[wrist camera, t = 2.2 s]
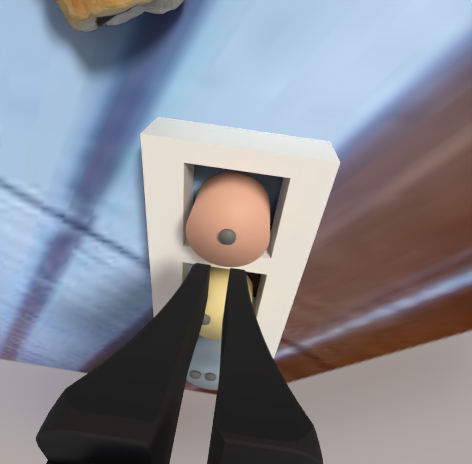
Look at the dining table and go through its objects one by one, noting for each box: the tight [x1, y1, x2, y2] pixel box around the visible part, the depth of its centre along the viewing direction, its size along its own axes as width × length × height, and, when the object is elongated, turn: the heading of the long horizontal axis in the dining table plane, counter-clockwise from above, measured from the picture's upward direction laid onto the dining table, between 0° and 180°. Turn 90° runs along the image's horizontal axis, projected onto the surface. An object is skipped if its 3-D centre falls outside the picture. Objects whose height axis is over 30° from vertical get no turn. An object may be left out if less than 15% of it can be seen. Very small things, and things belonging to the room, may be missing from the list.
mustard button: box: [199, 266, 253, 340], centre depth 21 cm, size 4×4×3 cm
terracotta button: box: [186, 172, 270, 267], centre depth 17 cm, size 4×4×3 cm
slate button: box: [186, 335, 221, 390], centre depth 25 cm, size 4×4×3 cm
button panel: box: [140, 117, 340, 359], centre depth 23 cm, size 22×10×3 cm, turn 173°
